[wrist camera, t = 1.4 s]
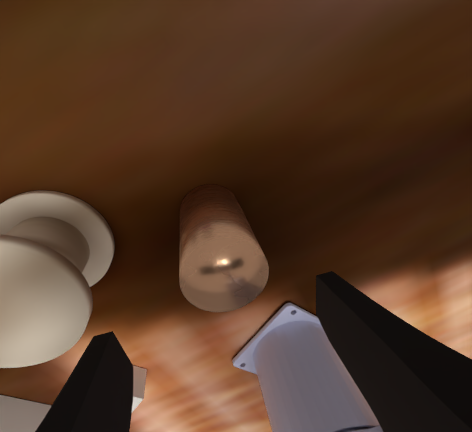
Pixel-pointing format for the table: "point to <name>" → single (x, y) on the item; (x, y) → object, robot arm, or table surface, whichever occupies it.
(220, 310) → the copper peg
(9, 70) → the table surface
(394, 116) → the table surface
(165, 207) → the table surface
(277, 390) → the robot arm
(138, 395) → the notched board
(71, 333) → the bobbin
